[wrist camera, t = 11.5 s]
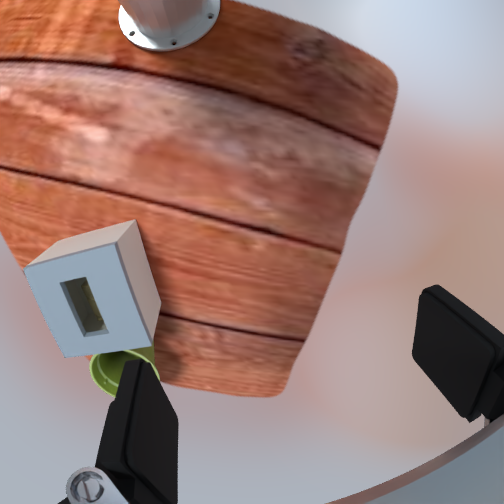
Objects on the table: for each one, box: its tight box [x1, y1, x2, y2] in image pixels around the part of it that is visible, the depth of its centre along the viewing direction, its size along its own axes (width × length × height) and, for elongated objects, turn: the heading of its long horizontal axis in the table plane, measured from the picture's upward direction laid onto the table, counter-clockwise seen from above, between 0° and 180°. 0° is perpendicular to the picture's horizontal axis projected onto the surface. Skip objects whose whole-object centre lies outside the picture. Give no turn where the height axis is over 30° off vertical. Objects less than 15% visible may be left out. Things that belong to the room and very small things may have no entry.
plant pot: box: [89, 340, 160, 397], centre depth 39 cm, size 9×9×9 cm
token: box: [81, 279, 103, 321], centre depth 36 cm, size 5×2×5 cm, turn 14°
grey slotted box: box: [23, 219, 161, 358], centre depth 34 cm, size 12×12×10 cm
